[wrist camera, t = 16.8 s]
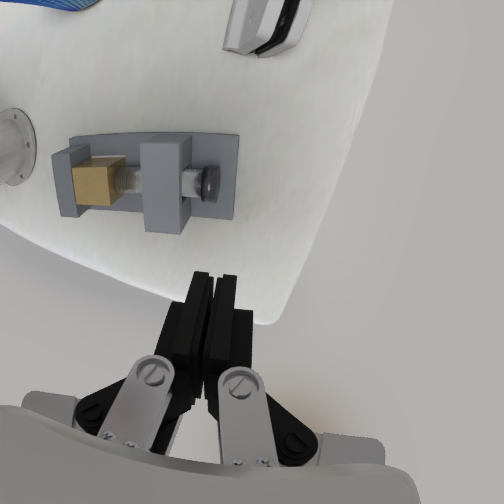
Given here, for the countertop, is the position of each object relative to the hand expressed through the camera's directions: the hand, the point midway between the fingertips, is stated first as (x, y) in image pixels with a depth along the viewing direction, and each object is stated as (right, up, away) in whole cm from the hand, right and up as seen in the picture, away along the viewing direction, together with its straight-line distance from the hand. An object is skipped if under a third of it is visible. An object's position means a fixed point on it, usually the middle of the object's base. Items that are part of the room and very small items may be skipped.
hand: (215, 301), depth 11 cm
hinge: (+4, +29, +8) cm, 31 cm away
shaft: (-8, +11, +19) cm, 23 cm away
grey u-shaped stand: (-11, +12, +20) cm, 26 cm away
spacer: (-16, +12, +19) cm, 28 cm away
